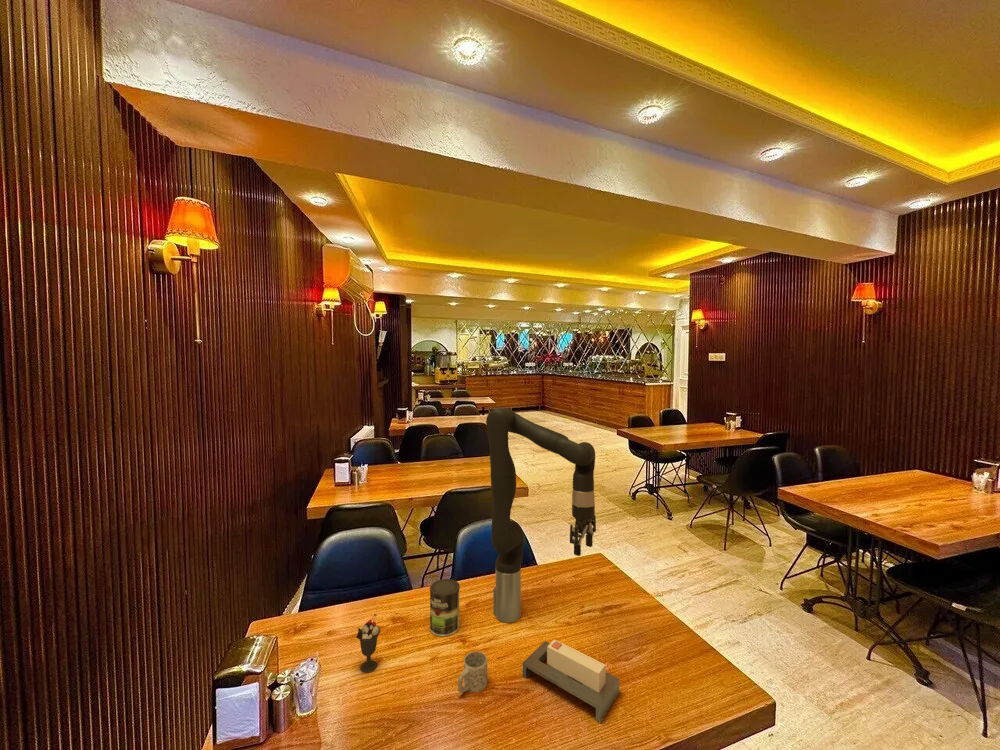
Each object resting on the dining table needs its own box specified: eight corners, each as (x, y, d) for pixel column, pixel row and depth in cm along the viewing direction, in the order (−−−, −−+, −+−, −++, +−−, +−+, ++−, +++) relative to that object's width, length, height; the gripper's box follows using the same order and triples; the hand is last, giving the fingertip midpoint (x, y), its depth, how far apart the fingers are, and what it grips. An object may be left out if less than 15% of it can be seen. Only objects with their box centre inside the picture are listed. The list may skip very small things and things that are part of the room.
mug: (474, 670, 115) (474, 648, 115) (492, 681, 111) (492, 658, 111) (450, 691, 107) (450, 667, 107) (467, 704, 103) (467, 679, 103)
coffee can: (450, 640, 128) (450, 597, 128) (423, 632, 132) (423, 590, 132) (465, 621, 138) (464, 581, 138) (439, 615, 142) (439, 576, 142)
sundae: (385, 661, 119) (385, 612, 119) (370, 677, 112) (370, 625, 112) (367, 656, 121) (367, 608, 121) (352, 671, 114) (352, 620, 114)
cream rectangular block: (547, 674, 112) (547, 645, 112) (554, 666, 115) (554, 638, 115) (599, 704, 102) (599, 672, 102) (605, 694, 105) (605, 663, 105)
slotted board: (522, 676, 113) (522, 662, 113) (545, 653, 122) (545, 640, 122) (600, 723, 97) (600, 707, 97) (619, 693, 107) (619, 678, 107)
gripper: (583, 495, 139) (583, 540, 139) (562, 505, 128) (562, 555, 128) (602, 499, 134) (602, 546, 134) (583, 510, 123) (583, 561, 123)
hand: (583, 550), depth 131 cm, fingers open, 8 cm apart
